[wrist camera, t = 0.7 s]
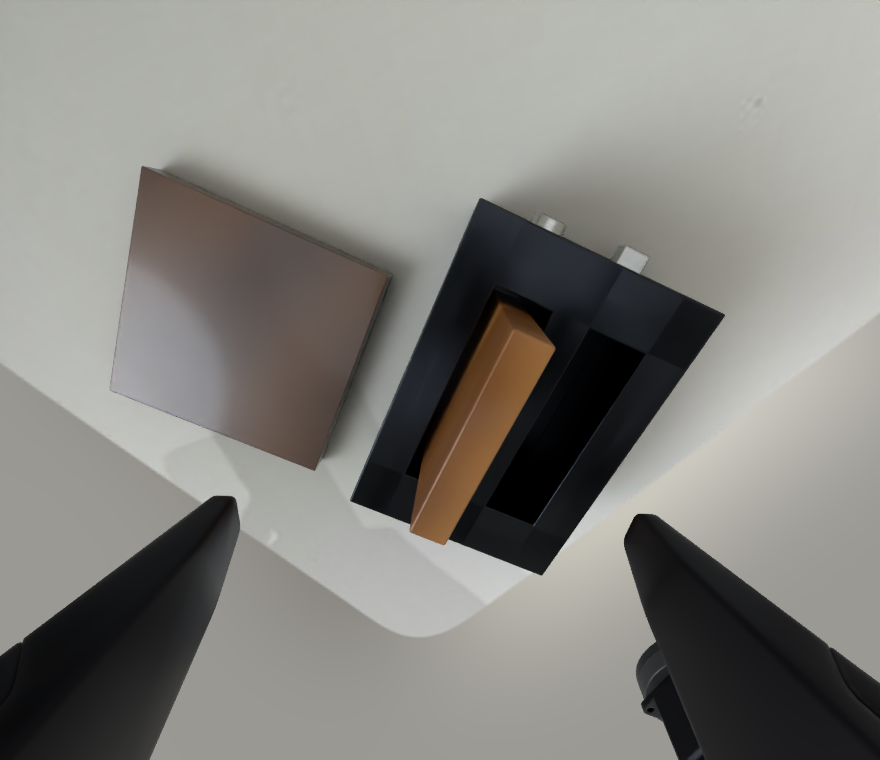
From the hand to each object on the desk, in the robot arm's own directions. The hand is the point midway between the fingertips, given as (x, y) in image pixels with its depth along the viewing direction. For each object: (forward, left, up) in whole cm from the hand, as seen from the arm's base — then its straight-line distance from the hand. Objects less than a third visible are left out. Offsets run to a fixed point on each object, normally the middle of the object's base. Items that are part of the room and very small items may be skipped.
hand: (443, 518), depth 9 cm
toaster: (-3, 0, -13) cm, 14 cm away
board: (+11, +4, -13) cm, 17 cm away
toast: (-1, 0, -12) cm, 12 cm away
